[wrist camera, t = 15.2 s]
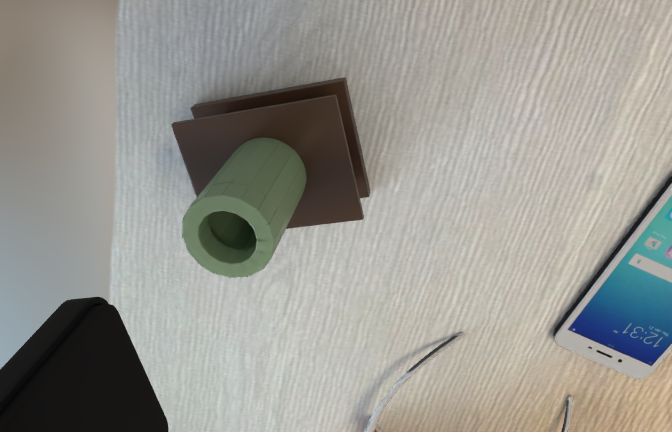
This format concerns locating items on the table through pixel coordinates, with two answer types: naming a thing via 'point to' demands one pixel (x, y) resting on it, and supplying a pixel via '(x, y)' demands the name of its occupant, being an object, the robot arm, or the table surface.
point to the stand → (294, 130)
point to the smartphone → (628, 299)
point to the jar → (245, 208)
